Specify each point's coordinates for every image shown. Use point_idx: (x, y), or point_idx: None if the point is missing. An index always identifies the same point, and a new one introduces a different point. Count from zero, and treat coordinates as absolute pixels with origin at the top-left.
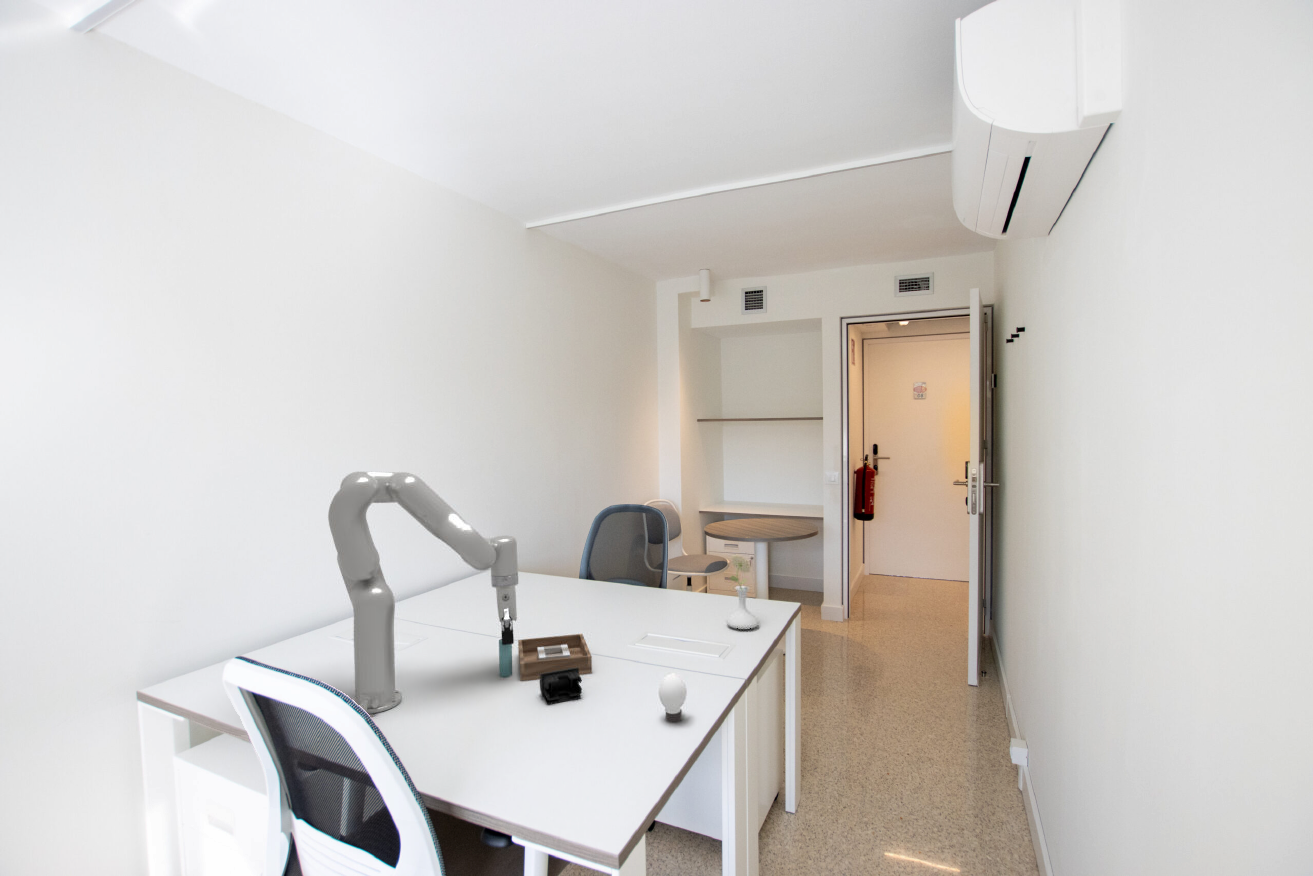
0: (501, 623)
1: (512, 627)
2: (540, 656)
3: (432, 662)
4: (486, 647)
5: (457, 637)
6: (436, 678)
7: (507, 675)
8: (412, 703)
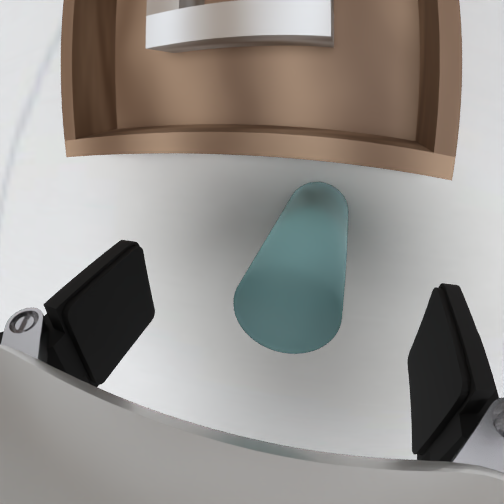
0: (109, 369)
1: (112, 261)
2: (305, 26)
3: (148, 384)
4: (52, 247)
5: (17, 300)
6: (263, 403)
7: (347, 210)
8: (401, 446)
